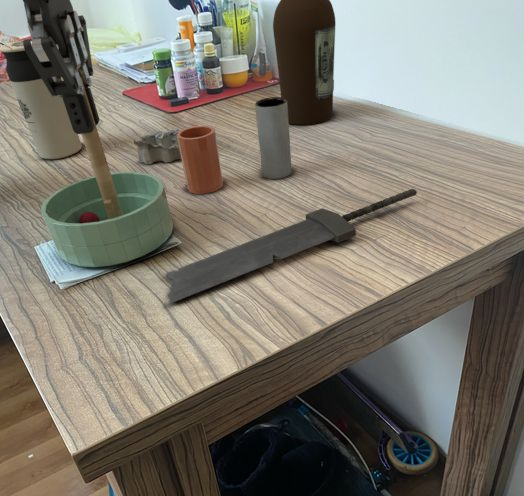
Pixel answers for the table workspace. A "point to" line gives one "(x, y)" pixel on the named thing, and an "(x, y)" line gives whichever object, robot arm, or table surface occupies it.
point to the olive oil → (305, 58)
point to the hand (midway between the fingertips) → (87, 128)
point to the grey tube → (274, 137)
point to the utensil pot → (200, 159)
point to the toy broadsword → (269, 248)
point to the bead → (88, 218)
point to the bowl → (108, 220)
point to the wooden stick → (101, 170)
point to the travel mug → (40, 106)
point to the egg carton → (158, 146)
